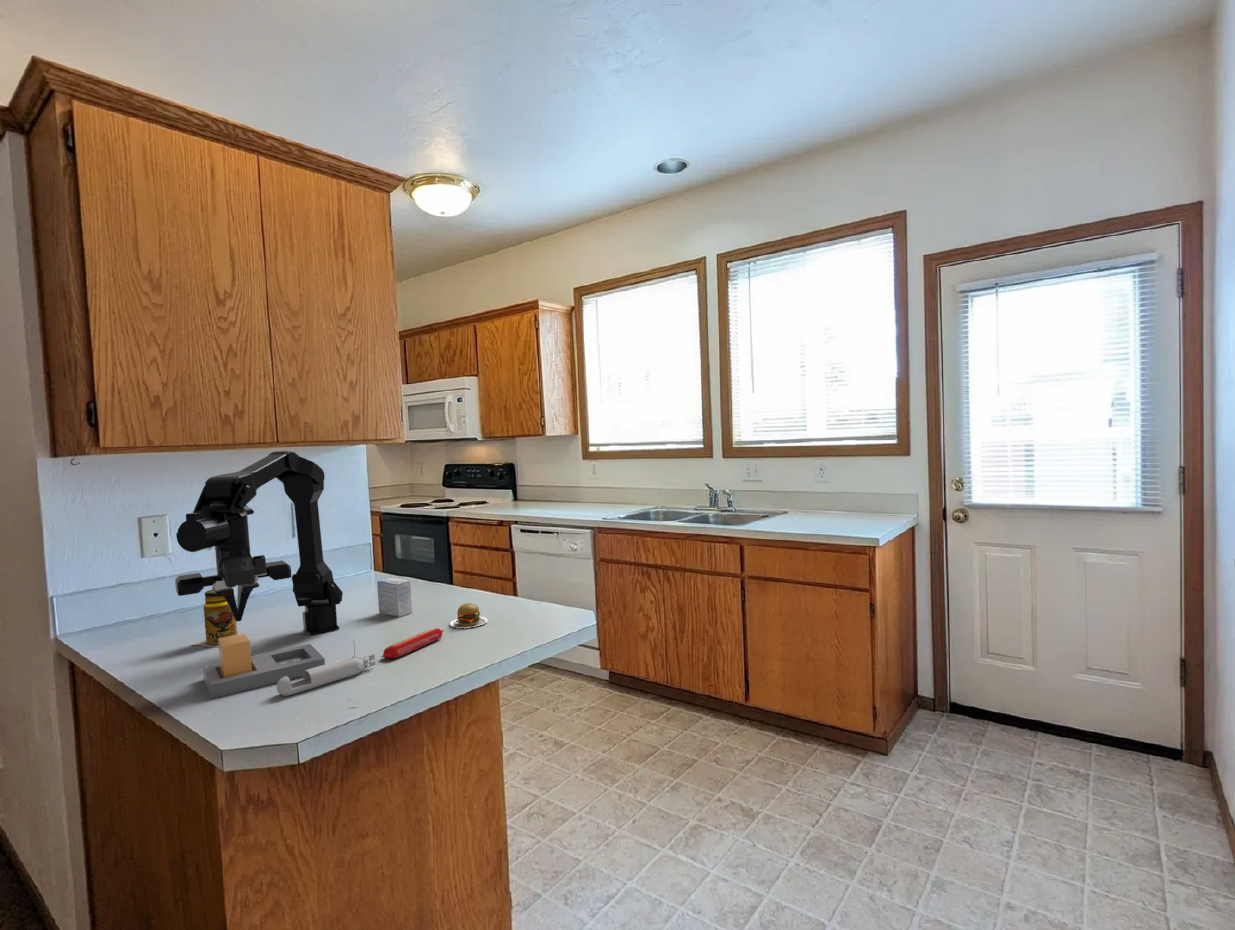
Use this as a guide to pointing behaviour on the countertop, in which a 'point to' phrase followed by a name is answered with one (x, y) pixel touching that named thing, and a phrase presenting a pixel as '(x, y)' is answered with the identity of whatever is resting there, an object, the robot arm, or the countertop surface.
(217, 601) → the condiment
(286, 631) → the countertop surface
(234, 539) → the robot arm
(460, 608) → the hamburger
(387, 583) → the medicine box
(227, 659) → the plug
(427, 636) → the red sausage
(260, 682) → the socket plate
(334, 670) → the torpedo
